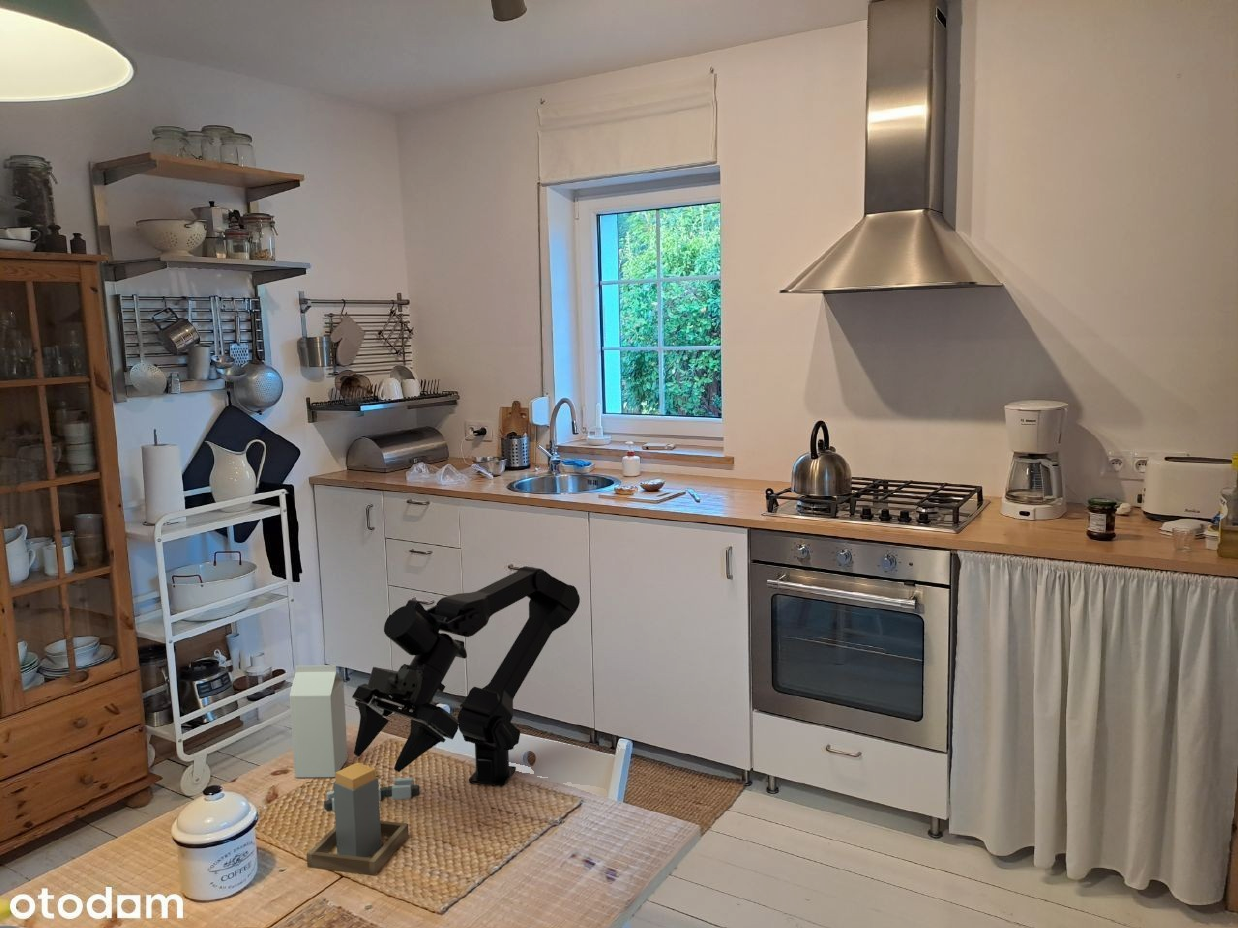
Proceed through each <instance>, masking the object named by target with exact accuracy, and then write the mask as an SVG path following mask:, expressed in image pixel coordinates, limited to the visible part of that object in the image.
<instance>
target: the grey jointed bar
mask: <svg viewBox="0 0 1238 928" xmlns="http://www.w3.org/2000/svg"><path fill="white" fill-rule="evenodd" d="M393 783H394V785H390V786H389V785H387V786H382V787H381V786H380V783H379V780H378V785H379V802H381V801H382V798H387V797H389V798H390V797H391V800H392V801H393V800H394V801H395V800H411V799H412V797H413V796H419V795H420V792H421V791H420V784H414V777H401V778H400V777H397V778H394V782H393ZM323 804H324V805H323V806H324V810H325V811H326V812H329V811H332V812H334V813H335V805H334V789H333V790H331V791H327V792H326V800H324V801H323Z"/></svg>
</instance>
